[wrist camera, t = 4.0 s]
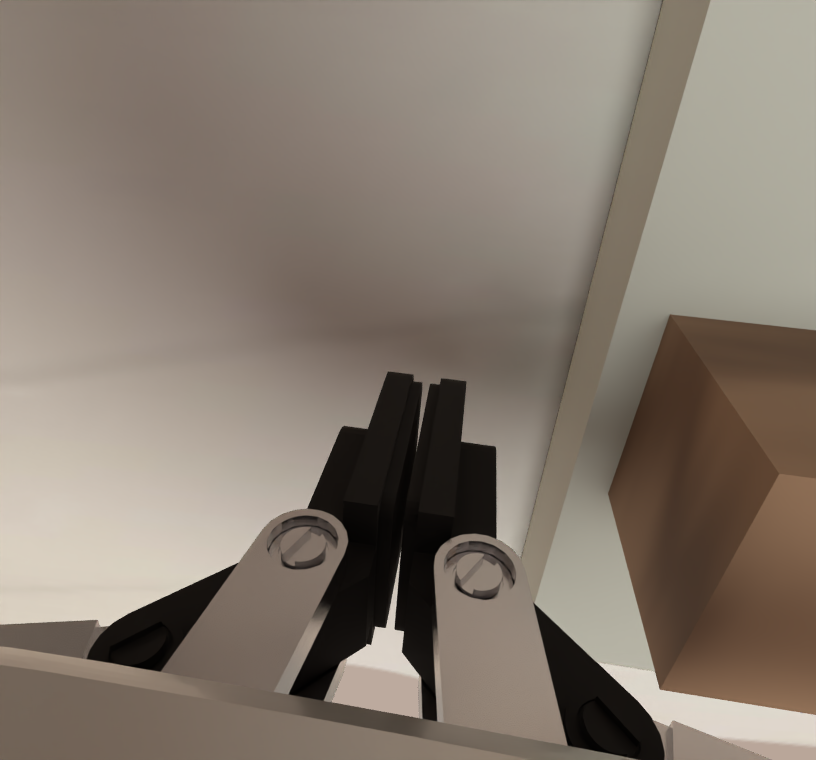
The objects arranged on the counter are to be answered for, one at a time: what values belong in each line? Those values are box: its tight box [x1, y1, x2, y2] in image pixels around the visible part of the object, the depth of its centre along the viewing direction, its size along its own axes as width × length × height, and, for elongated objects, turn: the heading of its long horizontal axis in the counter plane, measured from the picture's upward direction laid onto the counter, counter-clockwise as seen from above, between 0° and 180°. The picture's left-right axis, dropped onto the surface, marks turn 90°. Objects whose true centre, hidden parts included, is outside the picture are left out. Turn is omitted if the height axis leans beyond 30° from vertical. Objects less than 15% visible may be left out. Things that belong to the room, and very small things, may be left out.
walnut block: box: [608, 314, 816, 715], centre depth 10 cm, size 5×5×5 cm
